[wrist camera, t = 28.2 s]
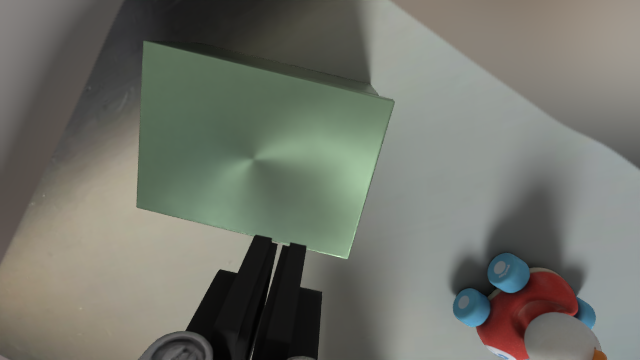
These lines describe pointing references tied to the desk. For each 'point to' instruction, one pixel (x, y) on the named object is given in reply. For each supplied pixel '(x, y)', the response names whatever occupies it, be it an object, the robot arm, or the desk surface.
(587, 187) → the desk surface
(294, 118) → the lid
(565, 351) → the toy car
